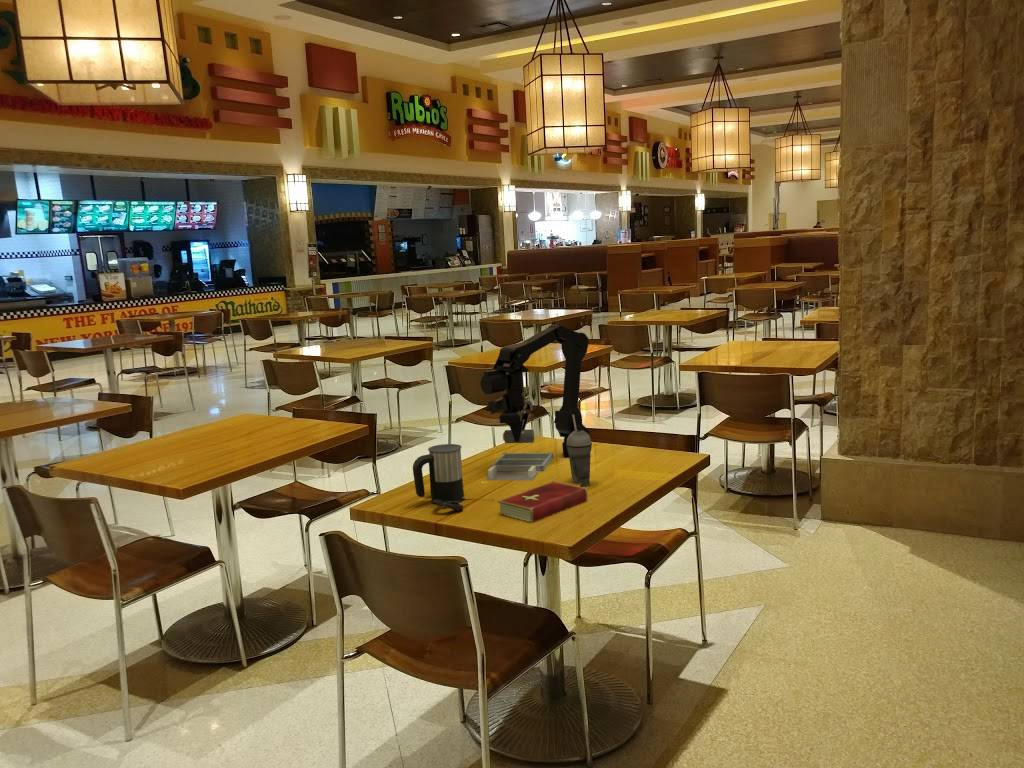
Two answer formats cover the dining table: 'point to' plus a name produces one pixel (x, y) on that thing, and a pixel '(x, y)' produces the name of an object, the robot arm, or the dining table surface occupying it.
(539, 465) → the cell tray
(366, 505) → the dining table surface
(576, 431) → the beverage cup
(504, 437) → the battery cell
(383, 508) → the dining table surface
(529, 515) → the hardcover book
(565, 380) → the robot arm
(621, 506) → the dining table surface
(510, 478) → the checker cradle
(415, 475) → the milk frother
